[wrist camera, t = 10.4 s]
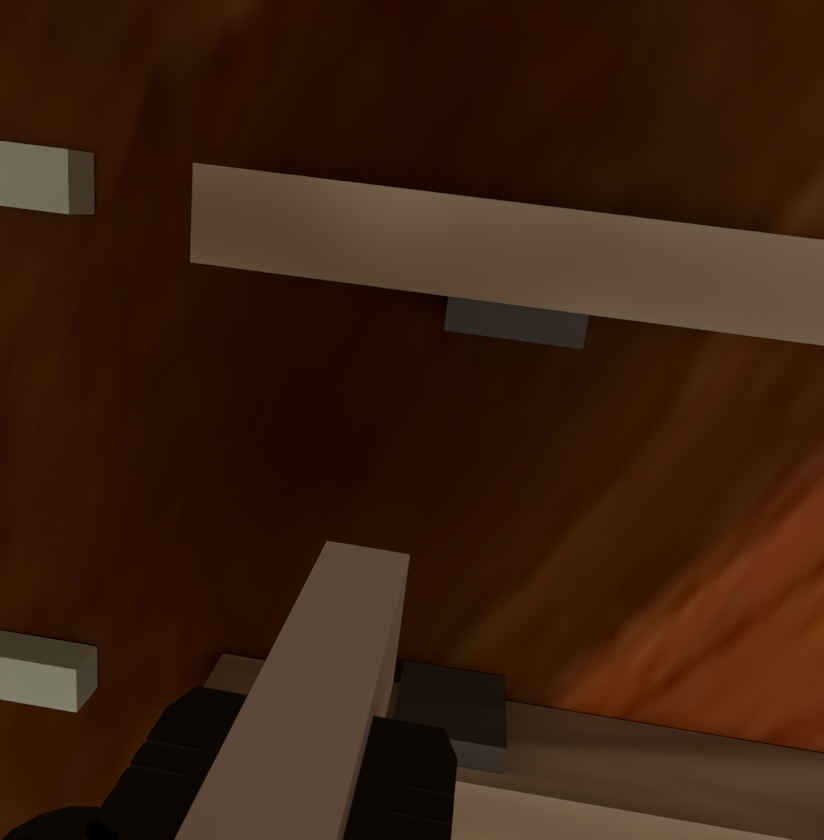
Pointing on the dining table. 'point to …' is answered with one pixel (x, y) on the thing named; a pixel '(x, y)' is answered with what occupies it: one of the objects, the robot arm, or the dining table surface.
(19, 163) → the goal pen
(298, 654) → the robot arm
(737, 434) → the dining table surface
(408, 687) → the twin plank rack
